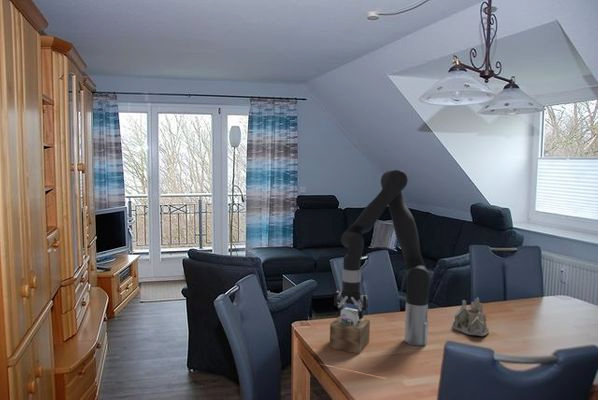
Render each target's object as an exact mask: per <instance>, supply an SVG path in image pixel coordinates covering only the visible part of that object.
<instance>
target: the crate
mask: <svg viewBox="0 0 598 400" xmlns="http://www.w3.org/2000/svg"><path fill="white" fill-rule="evenodd" d="M370 327H371V320H370V319H367V318H362V319H361V320H359V317H358V325H357V326H352V325H346V324H341V317H340V316H338V317H337V318H336V319H335V320H334V321H332V322H331V323H330V324H329V349H335V350H338V351H339V350H340V351H343V352H344V351H345V352H349V353H354V354H359V355H360V354H361V353H362V352H364V351H363V350H364V349H366V347H367V346H368V345H369V344H370V330H371V328H370Z"/></svg>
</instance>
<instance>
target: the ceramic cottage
mask: <svg viewBox="0 0 598 400" xmlns="http://www.w3.org/2000/svg"><path fill="white" fill-rule="evenodd" d="M473 301H474V302H473ZM473 301H471V304H470V305H471V306H470V307H471V309H469V308H467V301H466V300H462V304H461V307H460V308H459V310H457V312H456V313H454V321H453V322H452V326H451V327H452V329H453V330H456V331H458V332H461V333H463V334H466V335H469V336H479V337H484V336H487V335H488V334H489V332H490V331H489V327H488V325H487V315H486V314H485V313H483V310H484V307H483V306H484V305H483V303H482V302H480V298H479V297H476V299H474V300H473Z"/></svg>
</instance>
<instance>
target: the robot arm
mask: <svg viewBox="0 0 598 400" xmlns="http://www.w3.org/2000/svg"><path fill="white" fill-rule="evenodd" d="M408 180H409V178H408V176H407V173H405V171H403V170H401V169H393V170H389V171H385V172H383V174H382V176H381V179H380V186H381V190H380V192H379V193H378V194H377V195H376V196H375V198H374V199H372V201H370V203H369V204H368V205H367V206H365V207H364V209H363V210H362V212H361V213H360V215H358V218H357V219H356V220H355V221H354V222H353V223H352V224H350V226H348V227H347V229H346V230H345V231H344V232H343V234H342V235H341V238H340V239H341V241H340V242H341V244H342V246H344V247H345V248H347V253H346V254H345V255H344V256H343V263H342V264H343V266H342V277H341V278H342V279H341V280H342V285H341V287H342V288H341V291H340V290H336V291H335V292H334V298H333V306H334V307H337V309H338V310H337V312H338V313H337V314H338V315H339V316H340V317H341V310H343V309H344V306H343V305H344V304H345V303H346V304H347V305H348V304H351V305H355V306H356V308H357V310H358V318H359V320H361V319H364V311H367V310H368V309H369V297H368V296H369V295H368V294H361V281H362V280H361V277H362V276H361V259H362V255H363V252H364V248H365V241H364V237H363V236H362V235H363V234H365V233H369V232H370V231H371V229H372V228H373V227H374V226H375V224H376V222H377V221H378V219H379V218H380V217H381V215H382V214H383V213H384V212H385V210H386V209H387V207H388V209H389V213H390V217H391V220H392V224H393V225H392V226H393V229H394V234H395V237H396V240H397V243H398V246H399V249H400V250H401V252H402V255H403V259H404V264H405V272H406V273H405V274H406V294H405V316H404V318H405V319H404V321H405V322H404V342H405V343H406V344H409V345H412V346H426V345H427V343H428V340H429V339H428V337H429V319H428V316H429V315H428V312H429V298H430V274H429V271H428V268H427V267H426V265H425V261H424V259H423V256H422V253H421V248H420V238H419V231H418V228H417V225H416V221H415V218H414V216H413V214H412V212H411V211H410V209H409V207H408V206H407V205H406V202H405V200H404V198H403V193H402V191H403V190H404V189H405V188H406V186H407V185H408ZM340 296H341V298H342V300H341V301H340ZM360 299H361V300H360ZM361 301H363V302H361ZM339 316H338V317H339Z"/></svg>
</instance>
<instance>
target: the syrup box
mask: <svg viewBox="0 0 598 400" xmlns="http://www.w3.org/2000/svg"><path fill="white" fill-rule="evenodd" d="M358 318H359V309H358V308H357V309H355V308H351V307H343V310H341V324H346V325H352V326H357V325H358Z"/></svg>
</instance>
